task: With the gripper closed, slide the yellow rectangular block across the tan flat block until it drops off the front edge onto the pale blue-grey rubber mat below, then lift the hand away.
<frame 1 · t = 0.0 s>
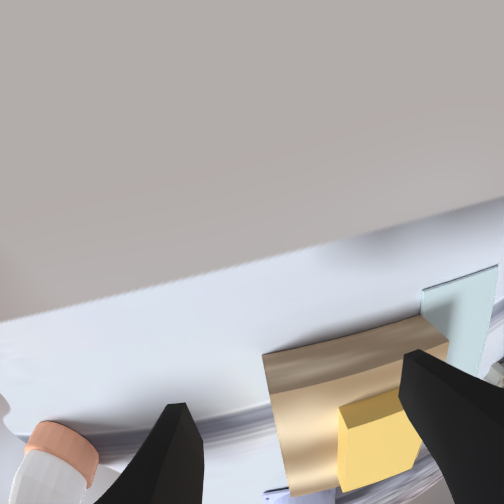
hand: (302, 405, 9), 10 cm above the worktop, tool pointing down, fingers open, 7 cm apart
salt shaker: (67, 444, 22), on the worktop
yellow rectangular block: (376, 434, 18), point 4 cm above the worktop, touching tan flat block
tan flat block: (347, 404, 22), on the worktop
egg carton: (498, 380, 25), on the worktop
mat: (449, 367, 23), on the worktop
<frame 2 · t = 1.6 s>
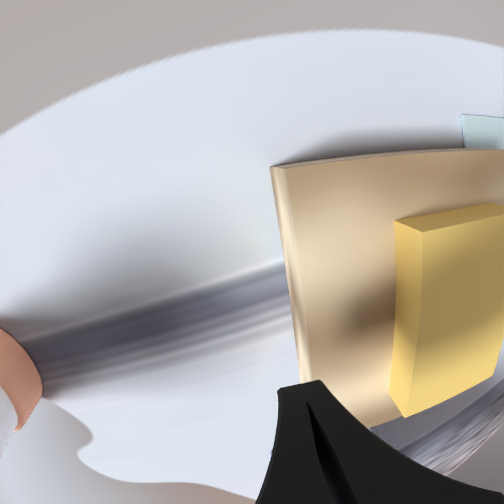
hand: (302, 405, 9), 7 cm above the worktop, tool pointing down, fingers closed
salt shaker: (6, 365, 16), on the worktop
yellow rectangular block: (446, 304, 13), point 4 cm above the worktop, touching tan flat block
tan flat block: (392, 279, 16), on the worktop
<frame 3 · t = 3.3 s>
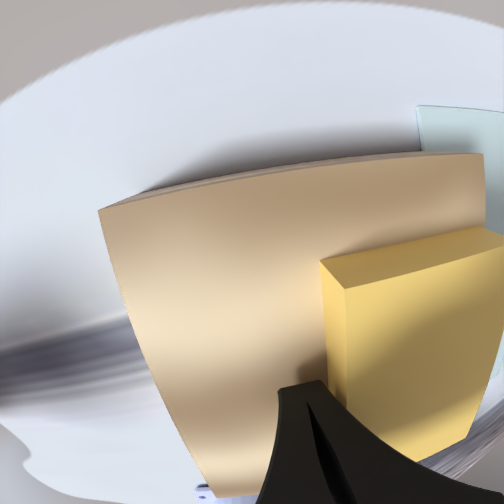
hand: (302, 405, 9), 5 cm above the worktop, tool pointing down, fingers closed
yellow rectangular block: (405, 360, 10), point 4 cm above the worktop, touching tan flat block
tan flat block: (312, 325, 14), on the worktop
mat: (480, 277, 14), on the worktop
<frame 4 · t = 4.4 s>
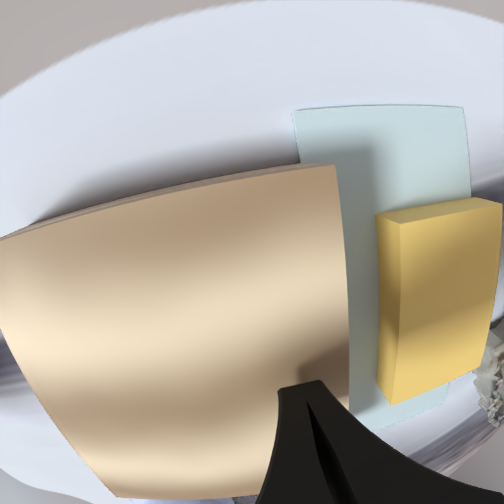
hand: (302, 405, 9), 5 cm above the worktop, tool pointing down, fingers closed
yellow rectangular block: (453, 312, 11), point 2 cm above the worktop, tilted 180°, touching mat
tan flat block: (187, 348, 13), on the worktop
egg carton: (502, 350, 17), on the worktop
mat: (401, 302, 14), on the worktop
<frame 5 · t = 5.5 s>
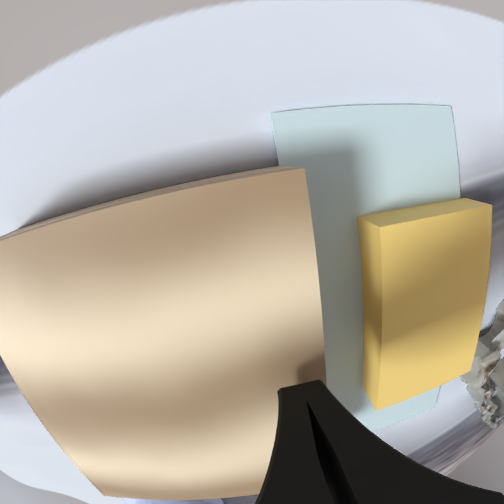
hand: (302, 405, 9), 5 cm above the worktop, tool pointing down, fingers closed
yellow rectangular block: (440, 317, 11), point 2 cm above the worktop, tilted 180°, touching mat
tan flat block: (170, 350, 13), on the worktop
egg carton: (495, 353, 17), on the worktop
mat: (387, 306, 14), on the worktop
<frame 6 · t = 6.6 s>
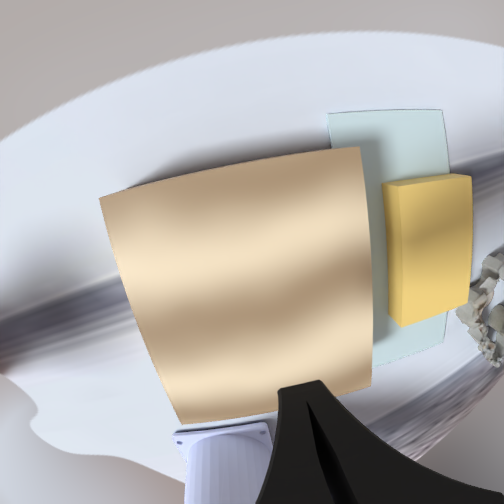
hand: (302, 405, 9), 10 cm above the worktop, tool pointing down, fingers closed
yellow rectangular block: (440, 252, 17), point 2 cm above the worktop, tilted 180°, touching mat
tan flat block: (250, 282, 19), on the worktop
egg carton: (489, 302, 22), on the worktop
mat: (403, 249, 19), on the worktop
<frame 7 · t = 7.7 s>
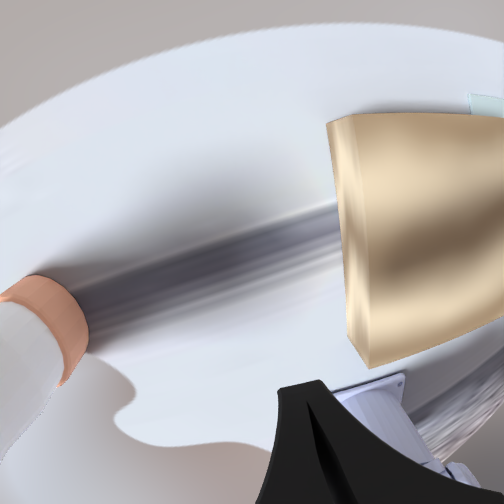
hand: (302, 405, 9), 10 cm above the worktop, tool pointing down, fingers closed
salt shaker: (48, 320, 19), on the worktop
tan flat block: (421, 224, 19), on the worktop
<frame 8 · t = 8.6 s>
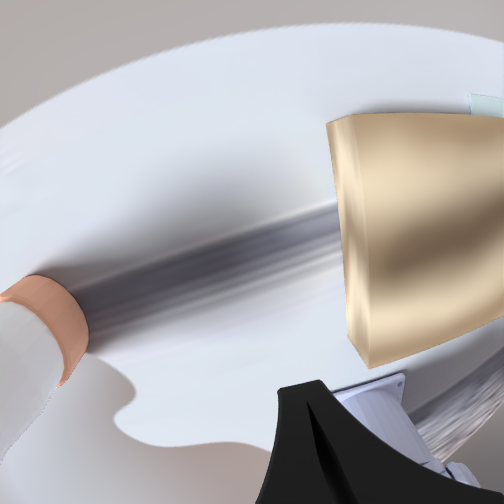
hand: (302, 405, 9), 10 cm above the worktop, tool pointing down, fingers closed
salt shaker: (48, 320, 19), on the worktop
tan flat block: (421, 224, 19), on the worktop
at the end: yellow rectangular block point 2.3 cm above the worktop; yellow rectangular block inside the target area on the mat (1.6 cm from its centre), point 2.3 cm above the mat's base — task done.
